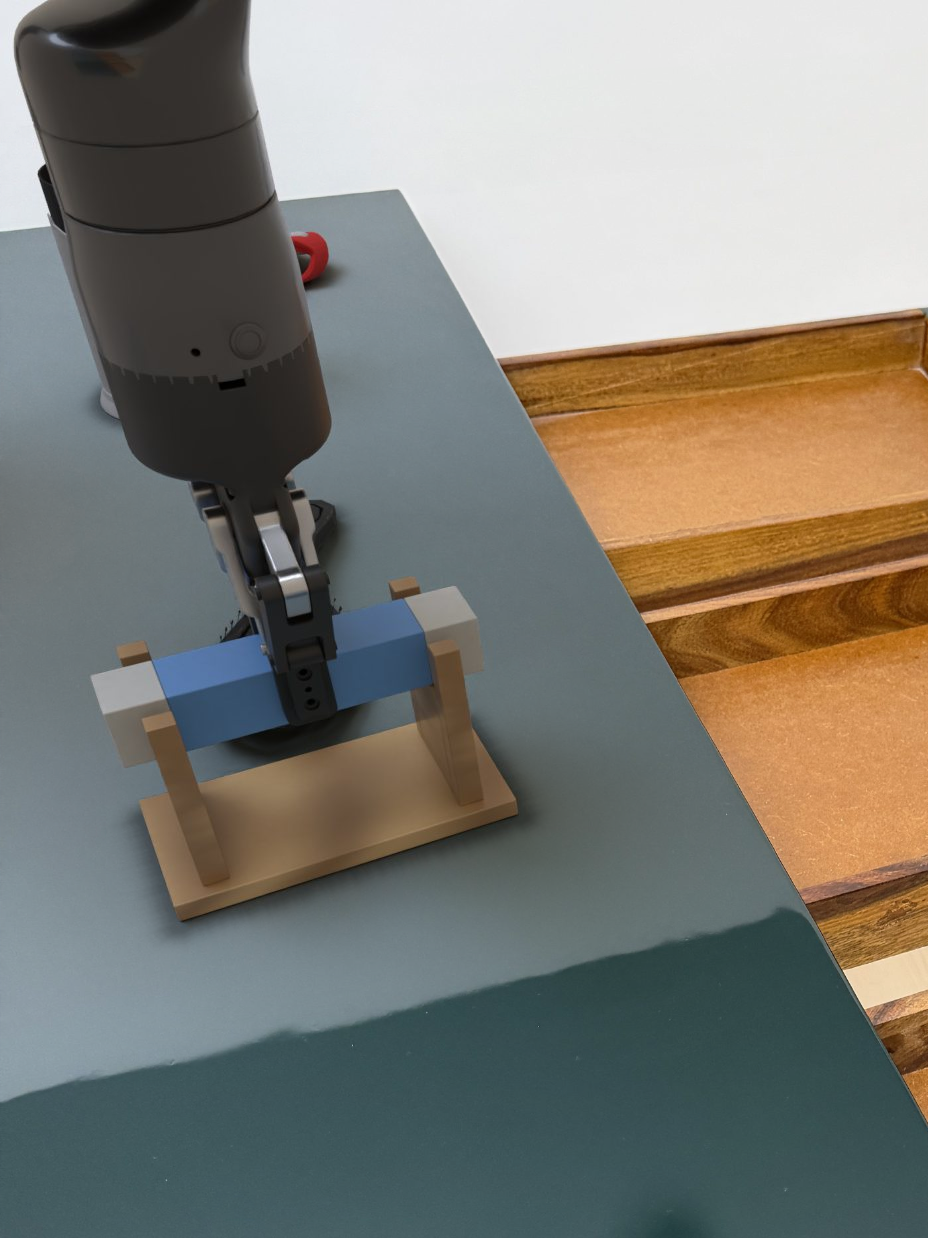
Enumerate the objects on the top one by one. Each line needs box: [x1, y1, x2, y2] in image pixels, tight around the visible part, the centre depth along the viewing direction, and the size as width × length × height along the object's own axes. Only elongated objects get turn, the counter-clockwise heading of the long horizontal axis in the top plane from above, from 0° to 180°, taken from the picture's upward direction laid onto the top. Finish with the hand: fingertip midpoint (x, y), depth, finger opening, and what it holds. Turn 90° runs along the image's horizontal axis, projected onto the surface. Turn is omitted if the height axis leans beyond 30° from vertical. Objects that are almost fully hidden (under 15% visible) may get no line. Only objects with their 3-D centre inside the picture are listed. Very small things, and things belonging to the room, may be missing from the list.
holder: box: [115, 575, 519, 922], centre depth 65 cm, size 16×8×10 cm, turn 120°
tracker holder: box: [289, 230, 330, 284], centre depth 112 cm, size 12×4×10 cm
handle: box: [89, 585, 486, 769], centre depth 63 cm, size 16×3×3 cm, turn 120°
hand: (301, 693), depth 64 cm, fingers closed on handle, 3 cm apart
